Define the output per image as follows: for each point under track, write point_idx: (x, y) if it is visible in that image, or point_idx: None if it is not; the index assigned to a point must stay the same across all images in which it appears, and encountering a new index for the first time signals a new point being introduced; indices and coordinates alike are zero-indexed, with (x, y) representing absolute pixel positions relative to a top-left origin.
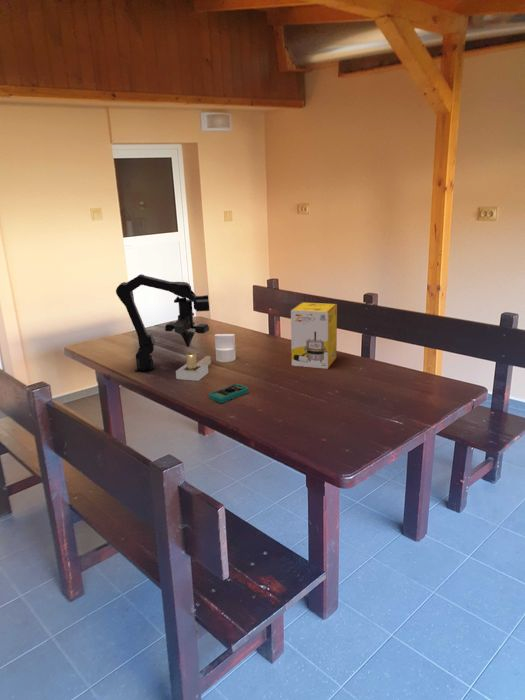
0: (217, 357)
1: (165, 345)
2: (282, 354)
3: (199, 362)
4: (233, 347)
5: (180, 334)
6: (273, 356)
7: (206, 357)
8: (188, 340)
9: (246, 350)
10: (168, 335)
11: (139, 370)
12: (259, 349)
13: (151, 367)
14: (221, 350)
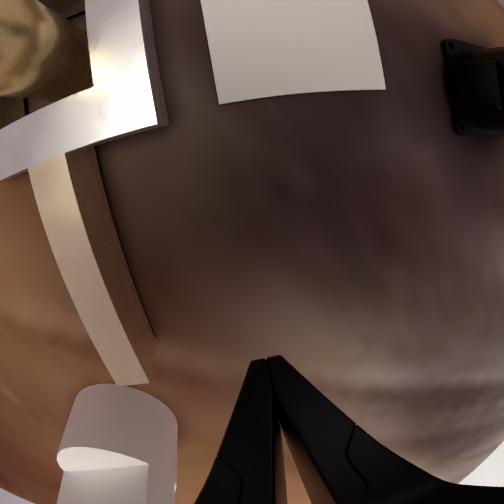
0: (130, 410)
1: (479, 400)
2: (32, 474)
3: (63, 220)
4: (64, 476)
5: (486, 495)
6: (31, 463)
7: (119, 357)
8: (240, 449)
9: None
10: (476, 440)
11: (484, 48)
12: None
13: (456, 72)
14: (83, 446)
